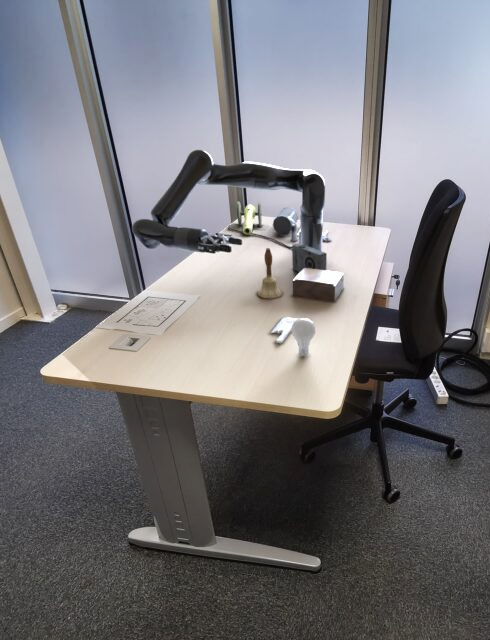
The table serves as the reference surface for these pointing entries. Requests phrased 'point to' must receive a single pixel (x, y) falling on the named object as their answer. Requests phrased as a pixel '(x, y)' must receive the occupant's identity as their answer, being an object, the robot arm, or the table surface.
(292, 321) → the white cleaver
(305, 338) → the lightbulb
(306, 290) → the block
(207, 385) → the table surface
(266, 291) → the hand bell
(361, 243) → the table surface
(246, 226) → the cannon
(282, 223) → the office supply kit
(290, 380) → the table surface
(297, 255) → the camera
